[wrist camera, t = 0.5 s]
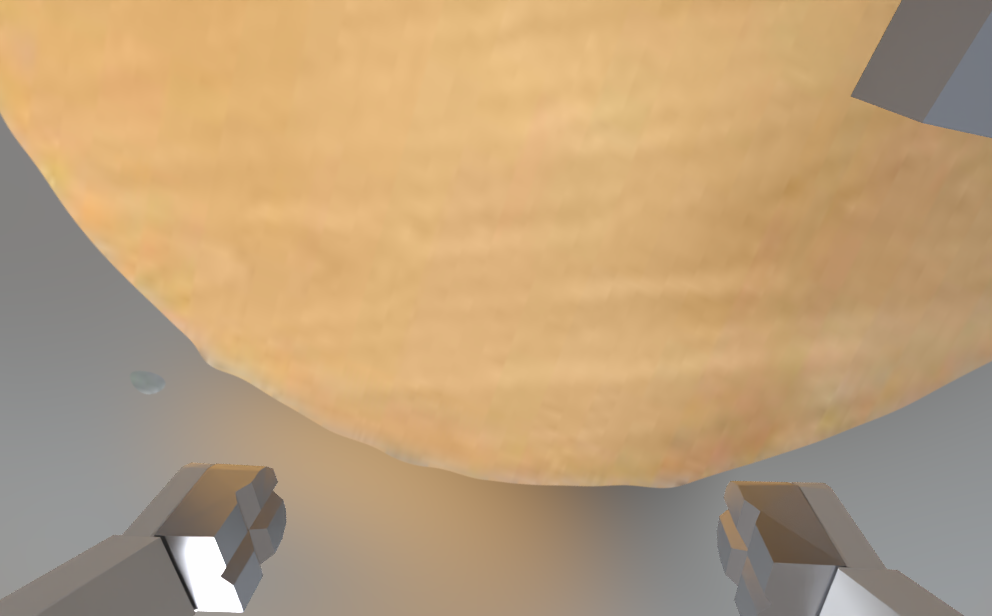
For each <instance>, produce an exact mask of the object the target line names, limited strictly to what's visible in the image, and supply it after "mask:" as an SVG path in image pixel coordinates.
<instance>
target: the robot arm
mask: <svg viewBox="0 0 992 616" xmlns="http://www.w3.org/2000/svg"><path fill="white" fill-rule="evenodd" d="M277 483H278V481H277V479H276V476H275V473H274V470H273V469H272V468H269V467H265V466H248V465H231V464H204V463H190V464H188V465H185V466H183V467H182V468H181V469H180V470H179V471H178V472H177V473H176V474H175V475H174V477H173V478H172V479H171V480H170V481H169V482H168V483H167V485H166V486H165V487H164V488H163V489H162V490H161V491H160V493H159V494H158V495H157V496H156V497H155V498H154V499H153V500H152V502H151V503H150V504H149V505H148V506H147V507H146V509H145V510H144V511H143V512H142V513H141V514H140V515H139V516H138V518H137V519H136V520H135V521H134V522H133V523H132V524H131V526H130V527H129V528H128V529H127V530H126V531H125V532H124V534H123V535H113V536H111V537H109V538H107V539H106V540H104V541H102V542H100V543H99V544H97V545H95V546H94V547H92V548H90V549H88V550H86V551H85V552H83V553H82V554H79V555H78V556H76V557H74V558H72V559H71V560H69V561H67V562H65V563H64V564H62V565H60V566H58V567H57V568H55V569H53V570H52V571H50V572H48V573H46V574H45V575H43V576H41V577H39V578H37V579H36V580H34V581H32V582H30V583H29V584H27V585H25V586H24V587H22V588H20V589H18V590H17V591H15V592H13V593H11V594H10V595H8V596H6V597H4V598H3V599H1V600H0V616H194V615H195V611H224V612H226V611H227V612H244V610H245V608H246V606H247V604H248V603H249V601H250V599H251V597H252V595H253V593H254V591H255V590H256V588H257V586H258V584H259V582H260V580H261V578H262V576H263V574H262V569H261V563H263V562H264V561H265V560H267V559H268V558H269V557H271V556H272V555H273V554H275V552H276V550H277V548H278V546H279V544H280V542H281V540H282V537H283V533H284V529H285V525H286V508H285V505H284V501H283V499H281V498H280V497H279V496H278V495H277V494H276V493H275V492H273V489H274V488H275V486H276V484H277ZM724 500H725V502H726V505H727V507H728V510H727V511H725V512H724V513H723V514H722V515H720V516H719V521H718V527H717V545H718V546H717V547H718V552H719V556H720V560H721V563H722V566H723V569H724V572H725V574H726V575H727V576H728V577H729V578H730V579H731V580H732V581H733V582H734V583H735V584H737V586H738V588H737V592H736V596H735V603H736V606H737V608H738V611H739V614H740V616H964V615H962V614H961V613H959V612H958V611H956V610H955V609H953V608H952V607H951V606H949V605H947V604H946V603H945V602H943V601H942V600H940V599H939V598H937V597H936V596H934V595H933V594H932V593H930V592H929V591H927V590H926V589H924V588H923V587H921V586H920V585H919V584H917V583H916V582H914V581H913V580H911V579H910V578H908V577H907V576H905V575H904V574H902V573H901V572H900V571H898V570H889V569H886V567H885V566H884V564H883V563H882V561H881V560H880V559H879V557H878V556H877V554H876V553H875V551H874V550H873V548H872V547H871V545H870V544H869V542H868V541H867V540H866V538H865V537H864V535H863V534H862V532H861V531H860V529H859V528H858V527H857V525H856V524H855V522H854V521H853V519H852V518H851V516H850V515H849V513H848V512H847V510H846V509H845V508H844V506H843V505H842V503H841V502H840V500H839V499H838V497H837V496H836V494H835V493H834V492H833V490H832V489H831V488H830V487H829V486H828V485H826V484H825V483H801V482H800V483H799V482H797V483H796V482H792V483H788V482H752V481H730V482H729V484H728V485H727V487H726V490H725V494H724Z"/></svg>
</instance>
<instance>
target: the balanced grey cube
mask: <svg viewBox="0 0 992 616" xmlns="http://www.w3.org/2000/svg"><path fill="white" fill-rule="evenodd" d="M851 97H854V98H857V99H859V100H862V101H865V102H867V103H870V104H873V105H876V106H878V107H881V108H884V109H886V110H889V111H892V112H894V113H897V114H900V115H902V116H905V117H908V118H910V119H913V120H916V121H918V122H921V123H925V124H930V125H934V126H939V127H943V128H948V129H953V130H957V131H962V132H966V133H971V134H976V135H980V136H985V137H989V138H992V0H902V1H901V3H900V5H899V7H898V9H897V10H896V12H895V14H894V16H893V18H892V20H891V22H890V23H889V25H888V27H887V29H886V31H885V33H884V35H883V37H882V38H881V40H880V42H879V44H878V46H877V48H876V50H875V52H874V53H873V55H872V57H871V59H870V61H869V63H868V65H867V67H866V68H865V70H864V72H863V74H862V76H861V78H860V80H859V82H858V83H857V85H856V87H855V89H854V91H853V93H852V95H851Z"/></svg>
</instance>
